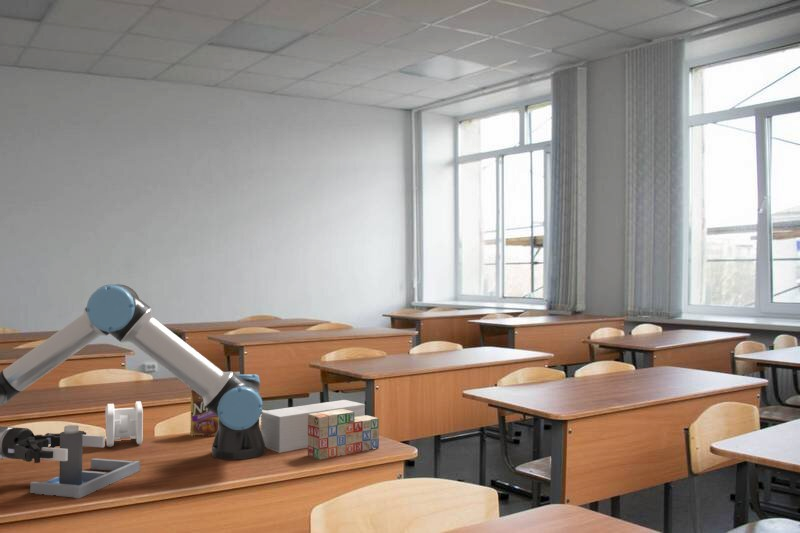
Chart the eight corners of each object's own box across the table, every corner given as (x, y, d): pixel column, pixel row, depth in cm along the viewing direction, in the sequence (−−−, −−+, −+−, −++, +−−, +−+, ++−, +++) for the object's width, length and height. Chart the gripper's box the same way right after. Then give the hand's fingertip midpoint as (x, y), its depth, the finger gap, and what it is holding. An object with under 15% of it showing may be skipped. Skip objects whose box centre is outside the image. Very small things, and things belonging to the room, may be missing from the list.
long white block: (344, 431, 237) (344, 399, 237) (364, 437, 229) (364, 404, 229) (260, 446, 216) (261, 411, 216) (279, 453, 208) (279, 416, 208)
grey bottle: (86, 483, 174) (87, 424, 174) (72, 490, 170) (73, 429, 170) (68, 482, 176) (69, 423, 176) (54, 488, 171) (55, 428, 171)
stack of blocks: (366, 445, 219) (367, 405, 219) (379, 449, 214) (379, 408, 214) (307, 455, 205) (307, 413, 205) (318, 460, 200) (319, 416, 201)
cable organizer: (142, 446, 214) (143, 408, 214) (105, 450, 210) (105, 410, 210) (140, 436, 228) (141, 400, 228) (105, 439, 224) (105, 402, 224)
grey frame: (139, 470, 188) (139, 461, 188) (78, 498, 164) (78, 487, 164) (93, 467, 191) (93, 457, 191) (26, 493, 168) (26, 483, 168)
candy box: (189, 436, 227) (190, 389, 228) (192, 433, 232) (192, 386, 232) (218, 436, 228) (218, 388, 229) (220, 433, 233) (220, 386, 233)
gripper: (46, 446, 189) (117, 451, 184) (-30, 471, 164) (49, 478, 159) (47, 417, 189) (117, 422, 184) (-30, 438, 164) (49, 444, 160)
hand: (86, 448), depth 172 cm, fingers open, 13 cm apart
